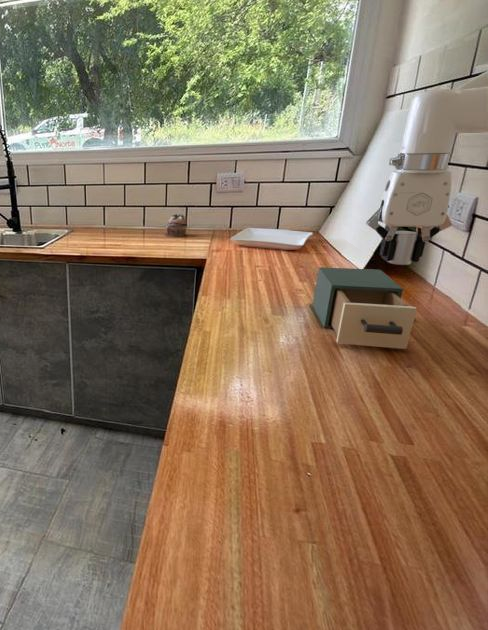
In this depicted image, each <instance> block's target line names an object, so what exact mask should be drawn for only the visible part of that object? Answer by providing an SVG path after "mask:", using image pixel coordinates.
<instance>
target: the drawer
mask: <svg viewBox="0 0 488 630" xmlns="http://www.w3.org/2000/svg"><path fill="white" fill-rule="evenodd" d="M417 309H418V308H417V307H416V306H412V305H411V306H410V305H408V304H407V303H406V302H405V301H404V300H403V299H402V298H401V299H400V298H399V297H398V296H397V295H396V294H395V293H394V292H390V291H371V290H352V289H335V292H334V298H333V303H332V308H331V314H330V319H329V321H330V323H331V325H332V327H333V328H332V329H333V330H334V332H335V334H336V344H341V345H354V346H364V347H365V346H367V347H377V348H388V349H389V348H390V349H399V350H400V349H401V350H407V348H408V344H409V342H410V341H409V340H410V337H411V332H412V329H413V325H414V322H415V321H414V320H415V318H416V314H417Z"/></svg>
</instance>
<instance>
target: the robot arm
mask: <svg viewBox="0 0 488 630" xmlns="http://www.w3.org/2000/svg"><path fill="white" fill-rule="evenodd" d="M484 133H486V134H487V133H488V70H486V71H485V72H483V73H480V74H479V75H477V76H475V77H474V78H472V79H470V80H468V81H466V82H465V83H463V84H462V85H459V86H457V88H443V89H442V88H441V89H432V90H431V89H430V90H424V91H420V92H418V93H416V94H415V95H414V96H413V97H412V99H411V101H410V104H409V109H408V113H407V118H406V121H405V127H404V132H403V137H402V141H401V146H400V151H399V153H398V154H397V156H396V157H391V158H389V161H388V166H393V167H394V168H395V171H391V173H390V175H389V177H388V180H387V182H386V184H385V186H384V189H383V192H382V196H381V198H380V202H379V205H378V209H377V210H376V211H375V212H374V213H373V214H372V216H371V217H370V218H368V219H367V221H366V222H365V224H366V225H367V226H368V227H369V228H371V229H372V230H374V231H375V232H376V233H377V234H378V236H380V238H381V239H382V241H381V246H380V250H379V255H380V256H381V257H380V258H381V259H382V260H384V261H385V262H387V261H390V260H391V258H392V254H393V249H394V245H395V242H394V241H393V237H394V235H395V233H396V231H398V228H399V227H403V228H404V227H406V228H407V227H411V228H413V227H415V228H416V230H415V232H416V233H418V237H417V241H416V245H415V249H414V253H413V257H412V261H411V262H414V263H419V261H420V258H422V257H423V253H424V250H425V246H426V243H427V242H429V241H430V239H431V238H433V237H434V236H436V235H437V234H439V233H440V232H442V231H444V230H446V229H448V228H451V227H452V226H453V223H452V221H451V219H450V217H449V215H448V211H449V206H450V199H451V193H452V177H453V176H452V171H450V170H447V168H448V165H449V162H450V157H451V153H452V150H453V145H454V142H455V137H456V134H484ZM379 222H380V223H384V224H385V225H384V226H382V225H381V224H379Z"/></svg>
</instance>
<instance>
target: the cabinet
mask: <svg viewBox="0 0 488 630" xmlns="http://www.w3.org/2000/svg"><path fill="white" fill-rule="evenodd" d="M335 289H352V290H371V291H390V292H394V293H395V294H396V295H397V296H398V297H399V298H400V299H402V295H403V290H404V288H403V287H402V286H401V285H399V284H398V283H397V282H396V281H395V280H394V279H392V278H391V277H390V276H389V275H388V274H387V273H385V272H384V271H383V270H381V269H375V268H374V269H373V268H347V267H326V266H325V267H323V266H322V267H321V266H319V267H318V270H317V275H316V280H315V286H314V293H313V298H312V305H311V306H312V308H313V309H314V312H315V313H316V316H317V317H318V319H319V321H320V323H321V325H322V326H323V328H325V329H334V328H333V327H332V325H331V323H330V321H329V319H330V314H331V308H332V303H333V298H334V292H335Z"/></svg>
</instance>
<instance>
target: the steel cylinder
mask: <svg viewBox="0 0 488 630" xmlns="http://www.w3.org/2000/svg"><path fill="white" fill-rule="evenodd" d="M417 237H418V233H416V231H410V230H396V233H395V235H394V237H393V241H394V242H395V245H394V249H393V254H392V258H391V260H390V261H386V262H387V263H388V264H392V265H399V266H407V265H411V264H412V262H413V261H412V257H413V253H414V249H415V245H416V241H417Z"/></svg>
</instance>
